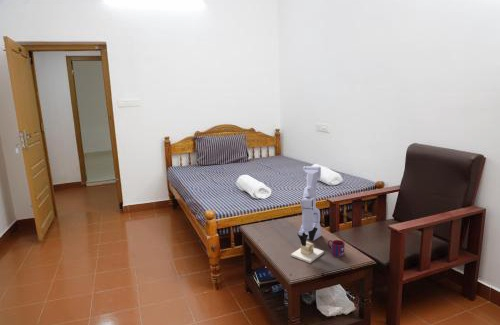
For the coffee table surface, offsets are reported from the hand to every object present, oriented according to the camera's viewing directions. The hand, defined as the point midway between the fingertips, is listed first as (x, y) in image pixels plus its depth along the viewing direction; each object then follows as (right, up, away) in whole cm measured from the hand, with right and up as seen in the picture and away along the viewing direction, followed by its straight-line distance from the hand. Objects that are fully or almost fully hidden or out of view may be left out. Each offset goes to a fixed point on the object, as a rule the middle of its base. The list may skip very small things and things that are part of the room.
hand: (307, 243), depth 183 cm
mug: (+16, -6, +2) cm, 17 cm away
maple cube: (0, -5, +1) cm, 6 cm away
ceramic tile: (0, -7, +1) cm, 7 cm away
